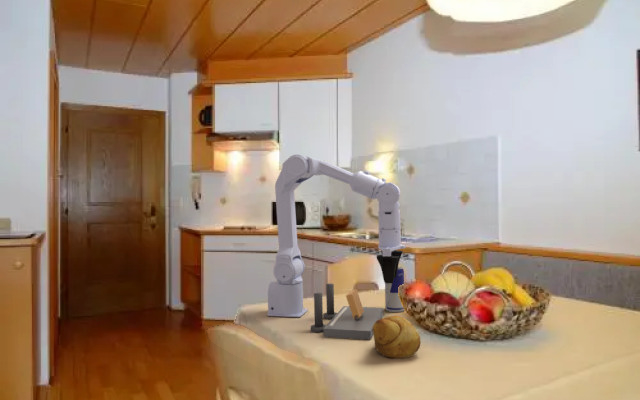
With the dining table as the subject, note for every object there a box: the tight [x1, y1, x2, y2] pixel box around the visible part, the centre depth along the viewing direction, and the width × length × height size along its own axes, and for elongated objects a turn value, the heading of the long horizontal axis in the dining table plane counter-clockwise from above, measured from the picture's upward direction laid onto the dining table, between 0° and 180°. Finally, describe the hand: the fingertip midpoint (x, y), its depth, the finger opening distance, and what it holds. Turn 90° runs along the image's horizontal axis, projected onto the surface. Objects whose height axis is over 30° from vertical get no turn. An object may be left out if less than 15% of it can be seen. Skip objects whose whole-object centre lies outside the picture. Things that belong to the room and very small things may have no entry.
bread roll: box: [373, 315, 421, 359], centre depth 100 cm, size 13×10×8 cm
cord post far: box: [323, 283, 338, 321], centre depth 128 cm, size 4×4×9 cm
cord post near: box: [310, 292, 327, 334], centre depth 116 cm, size 4×4×9 cm
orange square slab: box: [345, 288, 364, 320], centre depth 120 cm, size 2×6×6 cm, turn 165°
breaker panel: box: [323, 305, 384, 341], centre depth 120 cm, size 11×22×2 cm, turn 165°
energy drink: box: [384, 266, 405, 313], centre depth 134 cm, size 5×5×12 cm
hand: (390, 280), depth 125 cm, fingers open, 7 cm apart
